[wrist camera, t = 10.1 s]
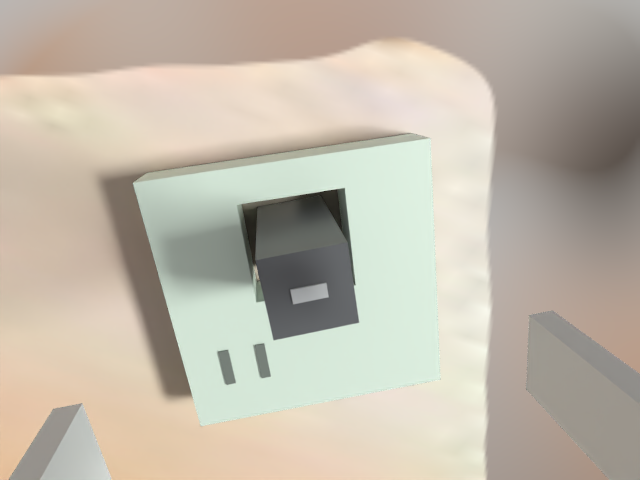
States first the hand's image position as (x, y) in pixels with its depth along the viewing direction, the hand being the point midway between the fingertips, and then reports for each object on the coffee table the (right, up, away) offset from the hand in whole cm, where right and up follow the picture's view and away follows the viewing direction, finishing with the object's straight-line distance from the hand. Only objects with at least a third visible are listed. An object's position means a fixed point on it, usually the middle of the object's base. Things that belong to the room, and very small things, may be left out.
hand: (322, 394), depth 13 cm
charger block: (-2, +5, +15) cm, 16 cm away
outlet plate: (-1, +2, +16) cm, 16 cm away
